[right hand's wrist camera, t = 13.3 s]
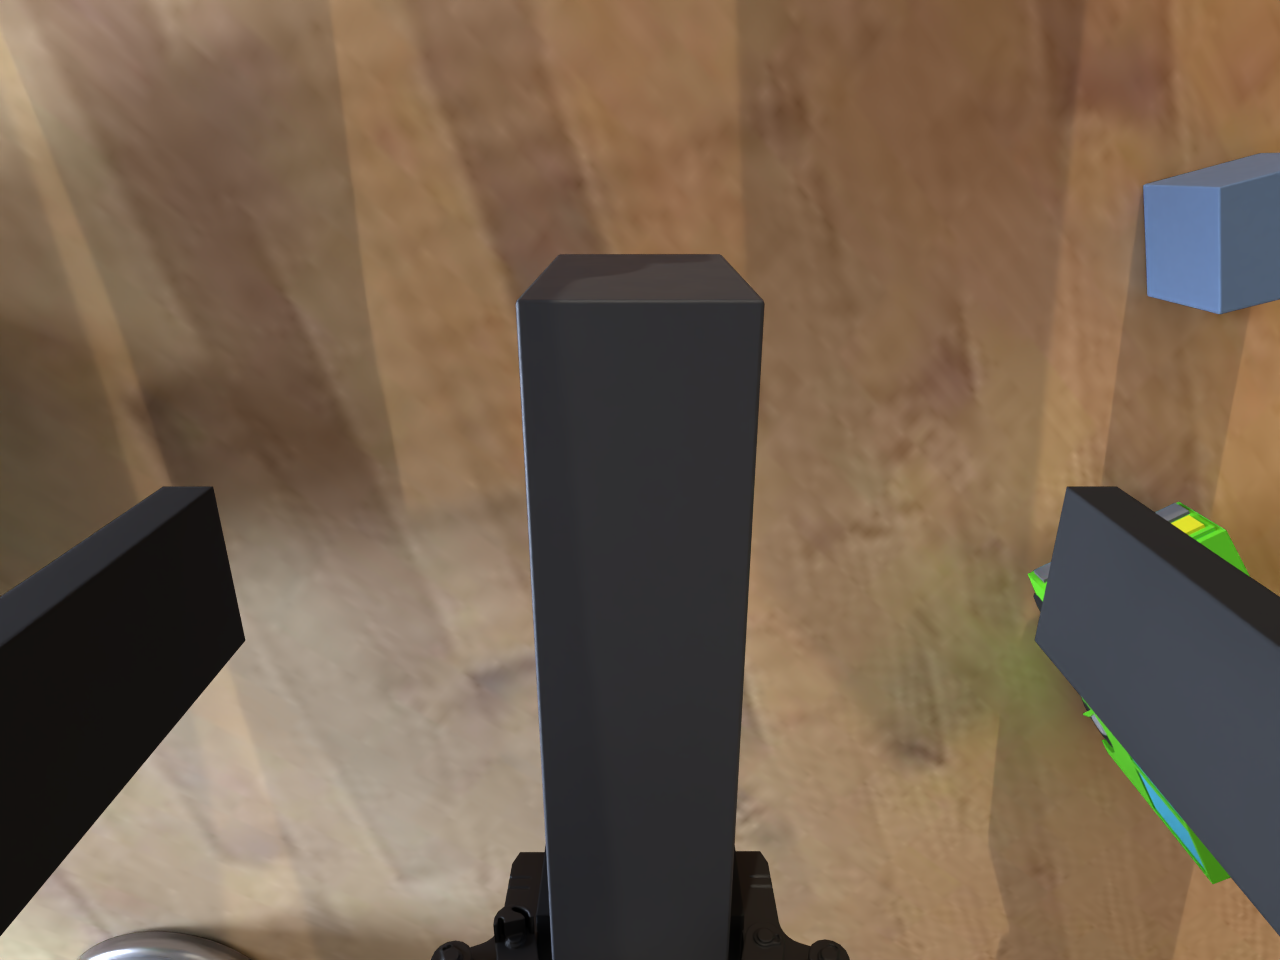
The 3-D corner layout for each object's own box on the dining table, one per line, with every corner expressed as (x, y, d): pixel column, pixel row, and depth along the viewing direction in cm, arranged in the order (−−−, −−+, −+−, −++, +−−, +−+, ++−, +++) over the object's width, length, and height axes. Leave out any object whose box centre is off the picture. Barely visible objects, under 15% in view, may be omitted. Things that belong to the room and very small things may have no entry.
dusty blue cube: (1146, 296, 37) (1219, 315, 32) (1142, 184, 35) (1218, 187, 31) (1259, 267, 36) (1350, 282, 32) (1260, 152, 35) (1357, 150, 30)
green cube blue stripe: (1185, 473, 40) (1351, 567, 31) (1257, 668, 44) (1423, 803, 35) (991, 567, 42) (1092, 682, 32) (1078, 745, 46) (1190, 893, 37)
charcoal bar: (700, 855, 33) (721, 1088, 25) (579, 855, 33) (558, 1088, 25) (721, 254, 24) (765, 299, 16) (557, 253, 24) (514, 299, 16)
